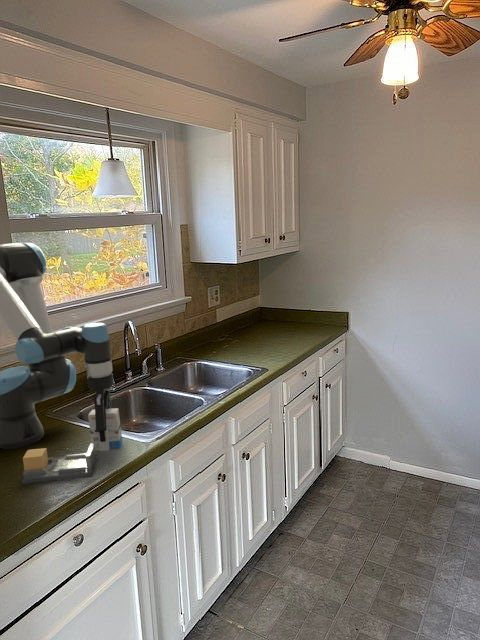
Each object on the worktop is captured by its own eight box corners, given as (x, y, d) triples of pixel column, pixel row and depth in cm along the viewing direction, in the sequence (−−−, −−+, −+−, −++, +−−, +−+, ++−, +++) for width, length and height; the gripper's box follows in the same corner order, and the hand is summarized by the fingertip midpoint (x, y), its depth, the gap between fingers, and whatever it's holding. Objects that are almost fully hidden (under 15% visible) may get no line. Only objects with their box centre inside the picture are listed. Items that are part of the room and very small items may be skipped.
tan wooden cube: (30, 464, 138) (28, 449, 137) (48, 462, 139) (46, 448, 138) (24, 473, 133) (22, 457, 133) (43, 471, 134) (41, 456, 133)
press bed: (34, 464, 142) (31, 447, 140) (98, 458, 144) (96, 440, 143) (22, 483, 131) (19, 465, 130) (92, 476, 133) (90, 458, 132)
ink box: (123, 442, 154) (119, 407, 151) (119, 449, 149) (116, 413, 147) (95, 443, 153) (91, 408, 151) (91, 450, 149) (87, 414, 146)
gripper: (93, 364, 157) (100, 428, 161) (79, 387, 135) (88, 460, 139) (117, 362, 158) (123, 426, 162) (107, 385, 136) (114, 458, 140)
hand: (107, 442), depth 151 cm, fingers open, 10 cm apart
